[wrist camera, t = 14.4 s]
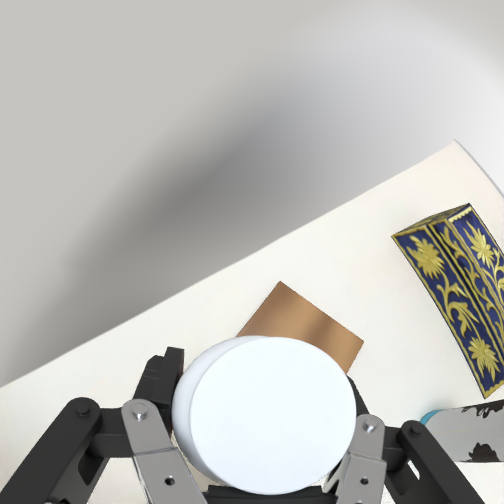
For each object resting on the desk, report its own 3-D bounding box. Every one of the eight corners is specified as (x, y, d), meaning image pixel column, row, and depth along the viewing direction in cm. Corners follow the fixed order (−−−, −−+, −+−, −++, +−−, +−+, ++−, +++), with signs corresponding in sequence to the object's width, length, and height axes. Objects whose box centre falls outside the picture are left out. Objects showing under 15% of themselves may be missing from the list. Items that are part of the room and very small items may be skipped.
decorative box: (484, 399, 28) (529, 388, 20) (390, 236, 39) (425, 198, 31) (509, 357, 32) (548, 341, 24) (426, 215, 43) (456, 181, 35)
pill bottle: (163, 418, 15) (110, 434, 6) (221, 344, 18) (244, 267, 9) (247, 473, 14) (306, 544, 5) (300, 396, 17) (406, 374, 8)
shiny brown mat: (211, 367, 27) (211, 366, 27) (279, 282, 33) (280, 280, 33) (307, 432, 25) (308, 432, 25) (362, 342, 31) (364, 341, 30)
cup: (434, 466, 23) (526, 468, 10) (404, 448, 25) (503, 449, 12) (456, 422, 26) (545, 407, 13) (429, 401, 28) (524, 380, 15)
